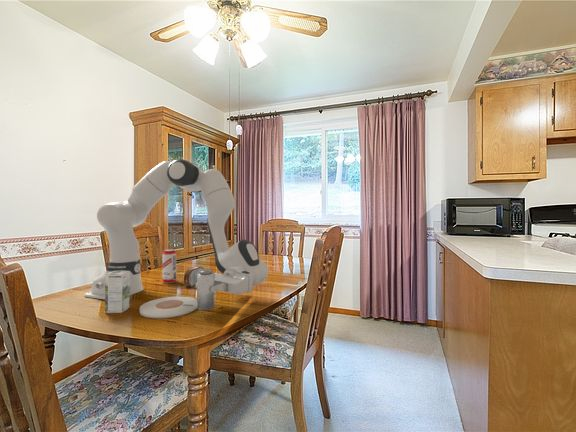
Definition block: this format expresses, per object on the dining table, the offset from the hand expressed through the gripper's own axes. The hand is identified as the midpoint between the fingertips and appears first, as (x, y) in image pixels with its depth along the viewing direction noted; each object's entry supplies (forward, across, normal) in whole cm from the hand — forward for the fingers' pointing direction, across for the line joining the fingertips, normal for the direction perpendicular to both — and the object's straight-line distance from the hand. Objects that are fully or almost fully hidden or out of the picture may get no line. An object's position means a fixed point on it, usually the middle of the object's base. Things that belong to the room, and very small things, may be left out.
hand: (203, 287), depth 97 cm
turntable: (+2, -16, +10) cm, 19 cm away
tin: (-28, -41, +11) cm, 51 cm away
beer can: (-23, -54, +11) cm, 60 cm away
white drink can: (-1, 0, +7) cm, 7 cm away
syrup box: (+13, -30, +11) cm, 34 cm away
